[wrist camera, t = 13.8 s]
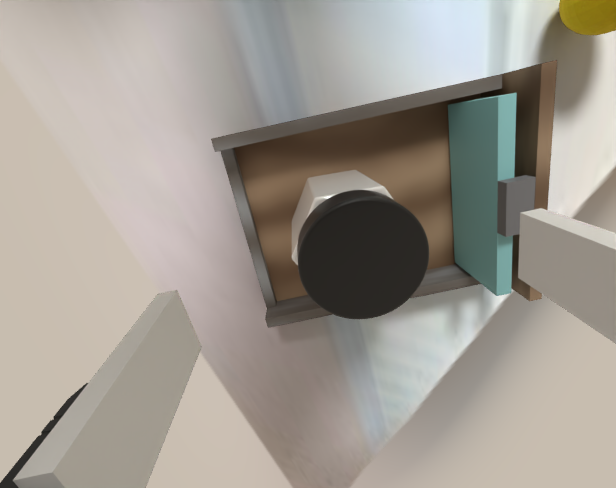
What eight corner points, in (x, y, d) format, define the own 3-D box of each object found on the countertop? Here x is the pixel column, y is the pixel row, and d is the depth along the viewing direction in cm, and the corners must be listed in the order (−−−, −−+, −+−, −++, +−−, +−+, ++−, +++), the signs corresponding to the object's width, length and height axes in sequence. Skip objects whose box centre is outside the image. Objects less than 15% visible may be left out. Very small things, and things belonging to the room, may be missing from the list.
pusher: (447, 104, 27) (508, 95, 19) (470, 99, 27) (540, 88, 19) (454, 262, 32) (504, 302, 25) (473, 258, 32) (529, 297, 25)
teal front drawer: (221, 137, 28) (196, 140, 21) (484, 79, 28) (557, 60, 20) (270, 306, 34) (264, 355, 27) (485, 261, 34) (541, 298, 26)
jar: (298, 260, 32) (302, 331, 20) (283, 180, 29) (278, 212, 17) (386, 245, 31) (438, 309, 20) (379, 163, 29) (436, 184, 17)
